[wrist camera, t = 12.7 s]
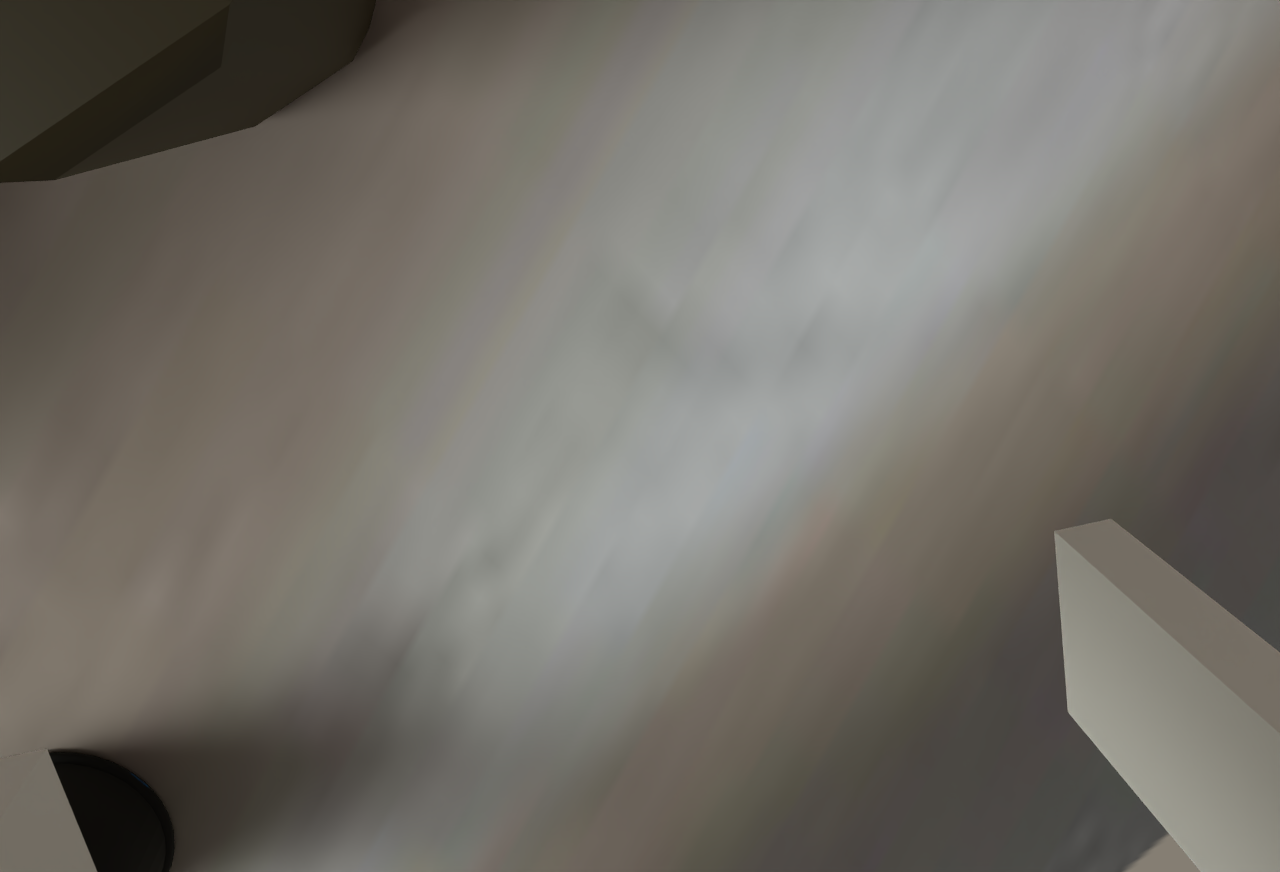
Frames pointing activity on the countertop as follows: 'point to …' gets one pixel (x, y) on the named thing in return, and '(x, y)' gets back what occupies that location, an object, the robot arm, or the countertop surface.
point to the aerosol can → (116, 815)
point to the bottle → (155, 73)
